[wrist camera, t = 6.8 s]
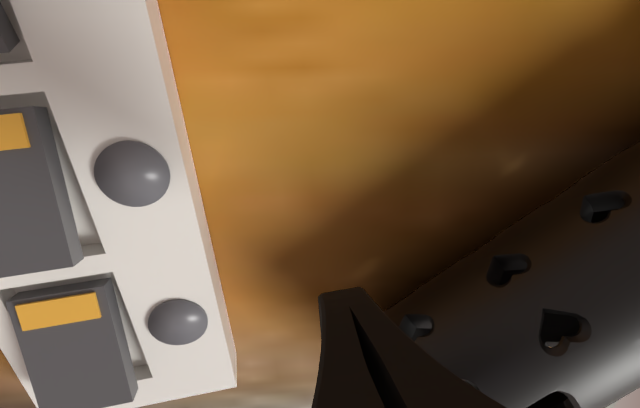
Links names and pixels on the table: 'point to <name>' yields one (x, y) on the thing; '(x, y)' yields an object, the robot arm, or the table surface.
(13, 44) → the rocker
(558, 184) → the table surface
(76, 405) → the rocker
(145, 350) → the switch strip
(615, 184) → the black foam roller
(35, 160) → the middle rocker
